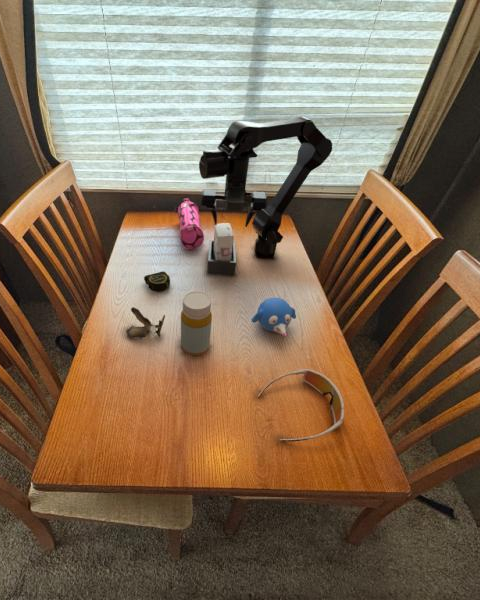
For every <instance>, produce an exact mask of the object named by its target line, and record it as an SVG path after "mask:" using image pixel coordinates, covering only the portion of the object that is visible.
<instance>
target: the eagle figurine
mask: <svg viewBox="0 0 480 600" xmlns="http://www.w3.org/2000/svg"><path fill="white" fill-rule="evenodd" d="M130 311H131V312H132V314H133V315H134V316H135V317H136V320H137V321H139V322H140V323H141V324H142V325H143V326H134V325H131V326H130V327H129V328H127V329H126V332H125V333H126V336H127V338H129V339H145V338H146V336H147V335H148V334H149V336H150V338H153V337H154V336H155V335H157V337H159V338H161V331H162V328H163V325H164V321H165V319H166V314H163V316H162V318H161V319H159V321H158V324H152V322H151V320H150V319H148V318H147V317H145V316H144V315H143V313H142V312H141V311H140V309H138V308H136V307H133V306H132V307H131V308H130Z"/></svg>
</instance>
